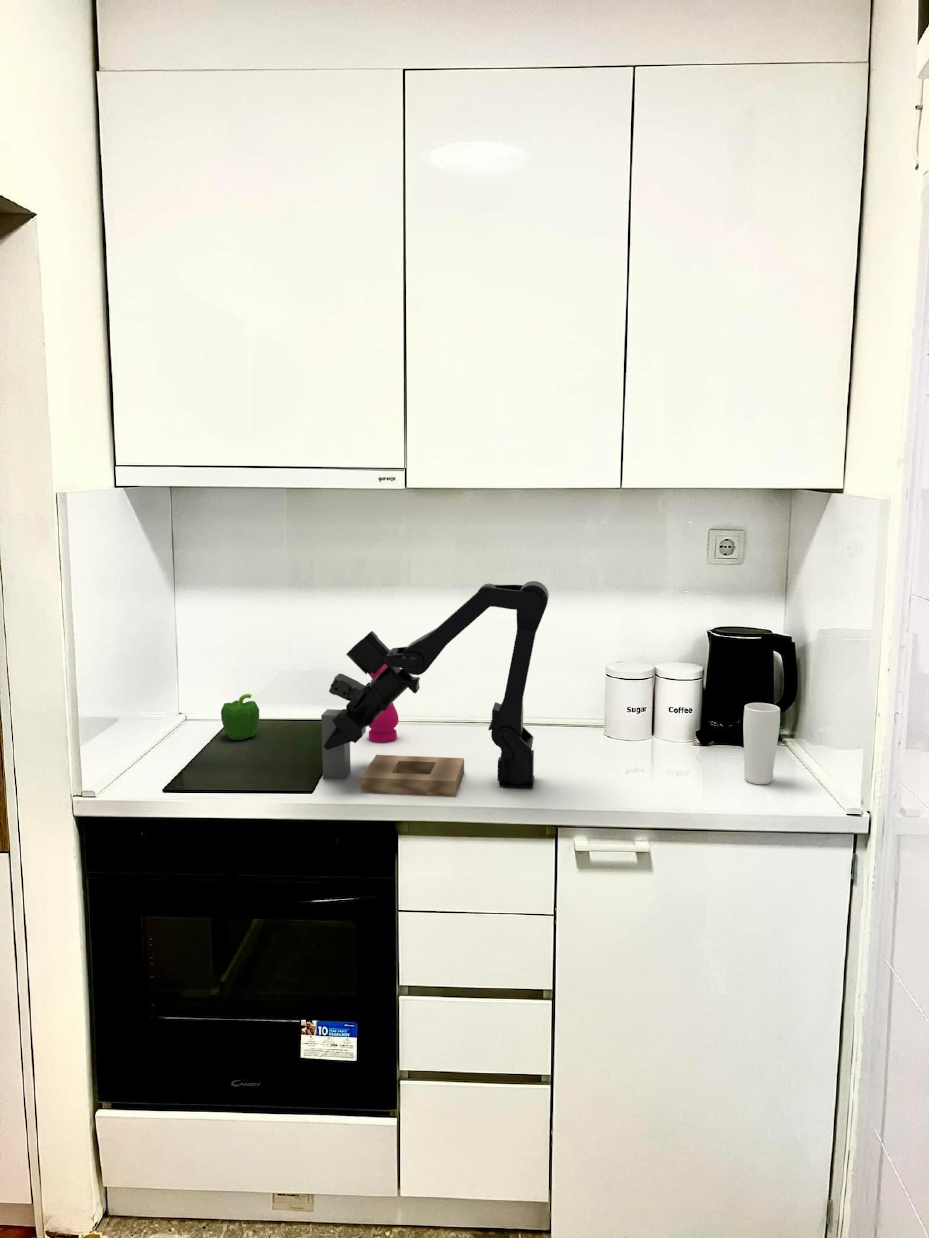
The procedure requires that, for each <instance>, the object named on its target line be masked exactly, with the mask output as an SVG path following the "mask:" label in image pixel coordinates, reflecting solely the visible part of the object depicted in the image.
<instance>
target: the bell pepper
mask: <svg viewBox="0 0 929 1238" xmlns="http://www.w3.org/2000/svg"><path fill="white" fill-rule="evenodd" d="M252 696H253V695H252V694H250V693H245V694H243V695H241V696H240V697H239V698H238V700H234V701H232V702H225V703H223V706H222V707H221V711H220V715H221V723H222V726H223V729H224V732H225V734H226V736H227V737H228V738H229V739H230V740H234V741H241V740H242V741H243V740H246V739H248V738H252V737H254V736H255V734H256V733H257V730H258V727H259V720H260V708H259V706H258V705H257V703H256V701H255V700H248V701H244V700H245V699H251V698H252Z"/></svg>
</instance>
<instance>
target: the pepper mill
mask: <svg viewBox="0 0 929 1238" xmlns="http://www.w3.org/2000/svg"><path fill="white" fill-rule="evenodd" d="M386 667H387V666H386V665H385V664H384V665H383V666H382V667H381V668H380V669H379V670H378V671H377V672H376V673H375V674H374V675H373V674H372V673H371V674H370V675H369V676H370V677H371V680H370V683H371V682H372V681H373V680H374V679H375V678H376V677H377V676H378V675H379V674H380V673H381V672H382V671H383V670H384V669H385V668H386ZM398 724H399V715H398V711H397V709H396V707H395V704H394V701H393V702H392V703H391V704H390V705H389V707H388V708H387V709H386V710H385V711H383V712H382V713H381V714H380V715H379V716H378V717H377V718H376V719H375V720H374V721H373V723H371V724H370V725H368V726H367V727H369V728H370V729H369V730H368V740H369V741H371V742H373V743H381V744H382V743H389V742H394V741H396V739H398V736H397V735H398V734H397V730H396V729H395V728H396V727H397V725H398Z"/></svg>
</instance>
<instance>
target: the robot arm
mask: <svg viewBox="0 0 929 1238" xmlns="http://www.w3.org/2000/svg"><path fill="white" fill-rule="evenodd" d="M548 601H549V591H548V589H547V587H546V586H545V585H544V583H542V582H539V581H536V580H531V581H528V582H526V583H524V584H493V583H485V584H483V585H482V586H481V587H480V588H479V589H478V591H477V592H475V594H473V595H472V596H471V597H470V598H469V599H468V600H466V601H465V602H464V603H463V604H462V605H461V606H460V607H459V608H458V609H457V610H455V611H454V612H453V613H451V614H450V616H449V617H448V618H446V619H445V620H444V621H443V622H442V623H441V624H439V626H437V627H436V628H434V629H433V630H431V631H429V632H427V633H425V634H423V635H422V636H420V637H418V638H417V639H416V640H414V641H412V642H411V643H409V645H408V646H400V647H393V648H391V649H389V648H388V646H387V645H386V644H385V643H384V642H382V640H381V639H380V638H379V636H378V635H377V634H376V633H375V631H373V630H371V631H369V633H367V634H366V636H364V637H363V638H362V639H360V640H359V641H358V642H357V643H356V644H355V645H354V646H353V647H351V648H350V650H348V651H347V652H346V654H345V655H346V656H347V657H348V658H349V659H350V660H351V662H352V663H354V664H355V665H356V666H357V667H358V668H359V669H360V670H361V671H362V672H363V673H364V674H365V675H369V676H370V674H371V673H372V674H373V675H374V674H375V673H376V672H377V671H378V670H379V669H380V668H381V667H382V666H383V665H384V664H385V665H386V666H387V667H386V668H385V669H384V670H383V671H382V672H381V673H380V674H379V675H378V676H377V677H376V678H375V679H374V680H373V681H372V682H371V681H369V682H367V683H366V684H363V683H362V682H359V681H358V680H356V679H353V678H351V677H349V676H348V675H345V674H343V673H337V675H335V676H334V678H333V681H332V683H331V684H330V688H329V690H328V693H330V694H331V695H333V696H337V697H339V698H342V699H343V700H345V701H348V702H347V704H346V705H345V706H346V708H342V709H340V710H341V711H340V712H339V713H338V714H337V715H336V716H335V717H334V719H333V720H332V721H333V723H334V724H335V725H336V728H335V729H334V731H333V732H332V734H331V735H330V737H329V738H328V740H327V741H326V743H325V744H324V748H325V749H326V750H329V749H332V748H335V747H337V746H340V745H343V744H346V743H349V742H350V743H354V744H356V743H357V742H358V741H359V740H360V739H361V738H362V737H363V736H364V735H365V734H366V732H367V731H366V729H367V727H369V726H368V725H370V724H371V723H373V721H374V720H375V719H376V718H377V717H378V716H379V715H380V714H381V713H382V712H383V711H385V710H386V709H387V708H388V707H389V705H390V704H391V703H392V702H393V703H394V702H395V701H396V700H397V699H398V698H399V697H400V696H401V695H402V694H403V693H404V692H405V691H406V690H407V689H409V690H410V691H411V692H412V693H413V694H417V692H418V691H419V690H420V687H421V686H420V679H421V678H420V677H419V676H420V675H422V674H424V673H425V672H426V671H428V669H429V668H430V667H431V666H432V664H433V663H434V662H435V660H437V658H438V656H439V655H440V654H441V653H442V651H443V650H444V649H445V647H447V645H448V644H449V643H450V642H452V641H453V640H454V639H455V638H456V637H457V636H459V634H461V633H462V632H463V631H465V629H467V627H469V625H471V624H472V623H473V622H474V621H476V620H477V619H478V617H480V616H481V615H482V614H483V613H484V612H486V611H487V610H488V609H489V608H490V607H492V608H499V609H507V610H514V611H515V610H516V634H515V638H514V644H513V650H512V656H511V660H510V666H509V671H508V676H507V681H506V687H505V692H504V697H503V699H502V702H501V703H499V702H497V701H495V702H494V704H493V707H492V710H491V720H490V723H489V727H488V731H491V734H490V737H491V740H492V742H493V743H494V744H495V746H497V747H498V748H500V750H501V752H500V756H499V757H498V759H497V781H498V782H499V783H498V784H499V785H498V786H499V787H500V788H515V789H520V788H521V789H533V788H534V783H535V775H534V768H535V767H534V765H535V764H534V762H535V761H534V759H535V758H534V757H535V756H534V755H535V750H534V749H532V748H533V744H534V736H533V734H531V732H529V730H527V729H526V728H525V726H524V694H525V689H526V684H527V679H528V674H529V669H530V664H531V658H532V654H533V649H534V644H535V639H536V634H537V632H538V629H539V626H540V624H541V621H542V618H543V616H544V613H545V611H546V609H547V605H548Z"/></svg>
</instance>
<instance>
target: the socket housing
mask: <svg viewBox="0 0 929 1238" xmlns="http://www.w3.org/2000/svg"><path fill="white" fill-rule="evenodd" d="M464 774H465V758H464V757H445V756H443V757H442V756H441V757H440V756H420V755H419V756H418V755H417V756H416V755H415V756H414V755H412V756H411V755H392V754H391V755H389V754H376V755H375V756H374V758H373V759H372V760H371V762H370V764H368V766H367V768H366V769H365V771H364V772H363V773H362V774H361V776H360V792H361V793H364V794H366V793H367V794H389V795H409V796H410V795H412V796H435V797H456V795H457V793H458V790H459V788H460V784H461V782H462V780H463V777H464Z"/></svg>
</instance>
